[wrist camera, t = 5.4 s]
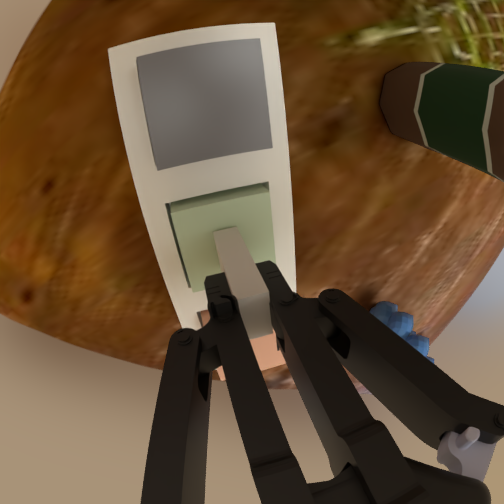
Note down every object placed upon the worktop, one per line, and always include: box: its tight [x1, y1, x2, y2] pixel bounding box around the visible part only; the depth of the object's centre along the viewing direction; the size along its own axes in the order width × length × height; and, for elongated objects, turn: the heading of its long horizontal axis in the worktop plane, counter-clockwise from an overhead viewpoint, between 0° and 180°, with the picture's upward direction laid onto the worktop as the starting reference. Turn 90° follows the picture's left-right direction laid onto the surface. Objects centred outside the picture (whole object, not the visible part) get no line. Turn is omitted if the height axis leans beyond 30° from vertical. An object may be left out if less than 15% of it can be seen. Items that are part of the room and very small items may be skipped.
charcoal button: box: [136, 38, 273, 171], centre depth 14 cm, size 6×6×3 cm
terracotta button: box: [201, 309, 286, 381], centre depth 23 cm, size 6×6×3 cm
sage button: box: [171, 183, 276, 293], centre depth 20 cm, size 6×6×3 cm
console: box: [108, 23, 296, 330], centre depth 21 cm, size 27×10×3 cm, turn 9°
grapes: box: [370, 301, 434, 364], centre depth 28 cm, size 12×7×12 cm, turn 27°
